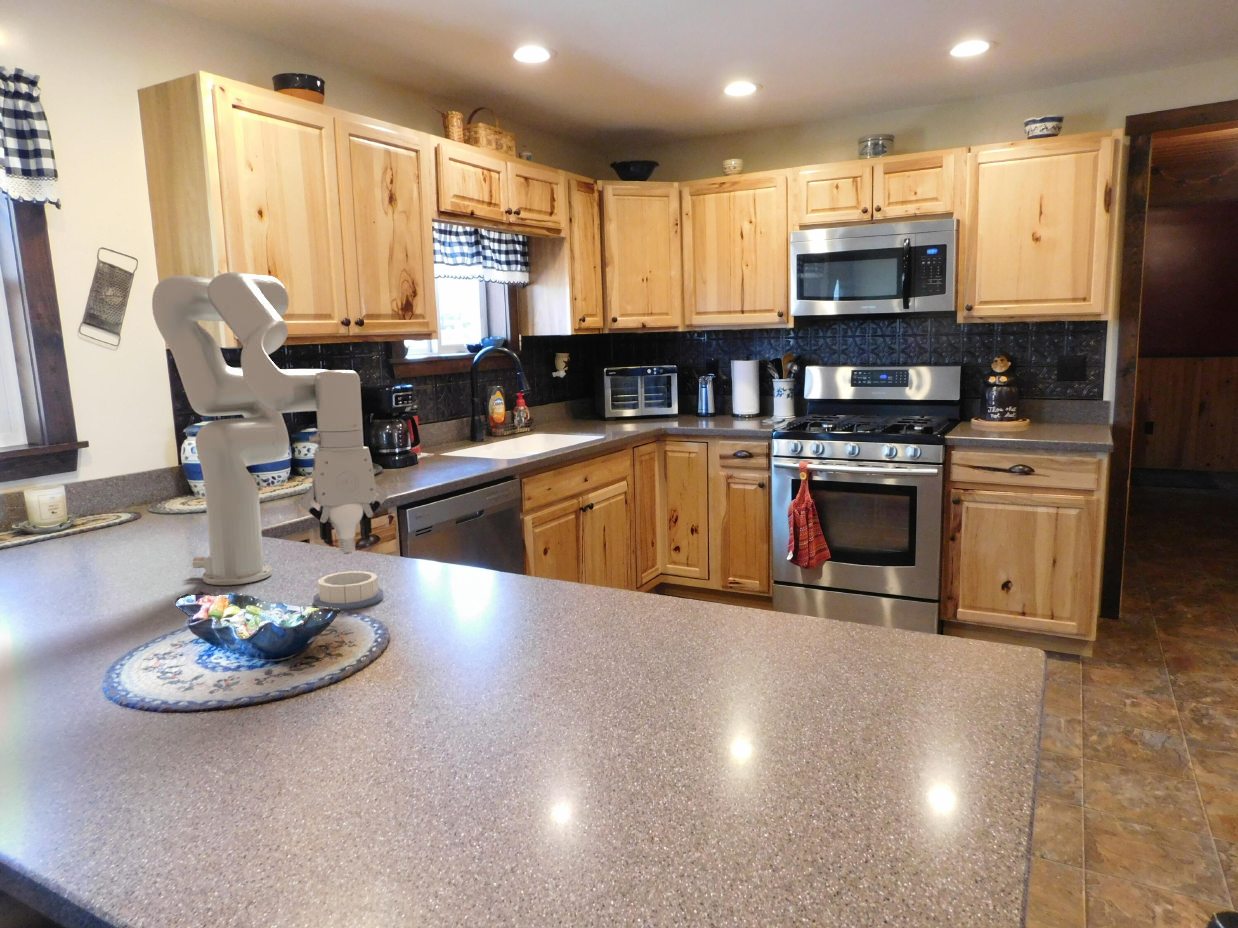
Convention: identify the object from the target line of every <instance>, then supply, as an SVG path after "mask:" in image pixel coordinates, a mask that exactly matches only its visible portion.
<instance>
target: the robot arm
mask: <svg viewBox="0 0 1238 928" xmlns="http://www.w3.org/2000/svg"><path fill="white" fill-rule="evenodd" d="M152 292H153V293H152V298H151V299H152V300H151V310H152V315H153V318H154V322H155V325H156V327H157V328H158V331H159V333H160V335H161V337H162V338H163V340H164V342H165V344H167V347H168V348H169V350H170V352H171V354H172V357H173V359H174V362H175V366H176V368H177V370H178V371H177V372H178V374H179V377H180V379H181V383H182V385H183V388H184V391H185V394H186V397H187V400H188V402H189V404H190V406H191V409H192V410H193V411H194V412H195V413H196V414H198V415H200V416H203V417H221V416H222V417H223V416H235V415H236V416H237V415H242V417H235V418H226V419H225V418H224V419H217V420H213V421H210V422H208V423H206V424H204V425H202V427H200V428H199V430H198V431H197V434H195V442H194V443H195V450H196V454H197V457H198V461H199V465H200V468H201V472H202V477H203V484H204V485H203V486H204V492H205V493H204V495H205V496H204V497H205V506H206V520H207V533H208V534H207V535H208V546H209V555H208V556H194V558H193V559H192V560H193V562H192V568H194V569H201V568H202V569H204V570H205V572H204V573H203V574H202V581H203V582H204V583H205V584H208V585H212V586H232V585H233V586H234V585H244V584H248V583H254V582H259V581H262V580H264V579H266V578H267V579H268V578H269V577H270V576H272V574H273V567H271V566H270V565H267V564H265V563H264V555H263V554H264V553H263V551H264V550H263V537H262V524H261V523H262V522H261V520H262V519H261V509H260V508H261V507H260V495H259V492H260V491H259V488H258V485H257V482H256V480H255V478H254V477H253V476H252V474H251V473H250V472H249V470H248V469H247V467H250V466H255V465H262V464H269V463H274V462H277V461H280V460H281V459H283V458H285V456H286V454H287V453H288V451H289V447H290V437H289V433H288V428H287V426H286V423H285V420H284V417H283V414H286V413H297V412H298V413H300V412H316V423H317V431H316V434H314V435H309V437H308V439H309V443H310V444H314V445H317V447H318V448H316V449H314V453H313V455H314V456H313V460H312V461H313V462H312V479H311V480H312V483H311V487H310V488H309V489H308V490H307V491H306V493H305V494H304V495H303V496H302V497H301V499H300V500H298V506H300V507H301V508H303V509H304V510H305V511H307V512H308V513H309V514H310V515H311V516H313V517H314V518H315V519H316V520H317V521H319V536H320V540H321V541H322V540H323V543H324V544H326V545H331V544H333V541H332V539H333V538H332V524H331V523H330V522H329V520H328V516H329V513H330V509H331V507H336V506H341V505H345V504H362V506H363V510H364V511H363V516H362V519H361V521H360V522H359V527H360V528H359V529H360V530H359V531H360V537H361V538H362V539H364V540H366V541H368V540H370V535H371V534H372V517H373V516H374V514H375V513H376V511H377V510H378V509H379V508H380V506H381V505H382V504H383V503H384V502H385V501H386V500H387V498H388V497H389V495H388V493H387V492H386V491H385V490H384V489H383V488H382V487H381V486H379V485H378V483H376V481H375V472H374V466H373V461H372V456H371V452H370V448H369V446H364V429H363V427H364V426H363V410H362V393H361V389H362V387H361V378H360V376H359V374H358V373H357V372H356V371H355V370H350V369H347V370H346V369H331V370H329V369H325V368H324V369H322V368H289V369H288V368H285V369H284V368H282V369H280V368H279V367H278V366H277V365H276V364H275V363H274V361H272V359H271V358H270V357H269V355H271V354H272V353H274V352H276V351H277V350H278V349H279V348H280V347H282V345H283V344H284V343H285V342H286V341H287V340H286V339H287V337H288V336H289V335H288V333H289V328H288V324H287V322H286V321H285V320H284V319H283V318H282V317H283V316H284V315H285V314H286V312H287V310H288V308H289V303H290V302H289V301H290V299H289V294H288V292H287V288H286V287H285V286H284V284H283V283H281V281H280V280H278V279H277V278H275V277H274V276H271V275H266V274H254V273H245V272H235V271H234V272H223V273H221V274H218V275H216V276H215V277H208V276H207V277H206V276H196V275H173V276H169V277H166V278H164V279H162V280H160V281H159V282H158V283H157V284H156V285H155V287H154V290H153V291H152ZM199 321H204V322H224V323H225V324H226V325H227V327H228V328H229V329H230V330H231V332H232V333H233V334H234V336H235V337H236V338H237V340H238V341H239V342H240V343H241V345H242V350H241V354H240V367H231V366H229V365H228V364H227V362H226V360H225V358H224V356H223V352H222V350H221V347H220V345H219V344H218V342H217V340H216V339H215V338H214V337H213V336H212V335H211V334H210V333H209V331H207V330H206V328H204V327H202V326H201V325H200V324H199ZM312 501H313V502H314V503H316V504H318V505H319V508H318V509H317V508H316V507H315V506H314V505H312V504H311V502H312Z"/></svg>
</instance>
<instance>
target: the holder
mask: <svg viewBox="0 0 1238 928" xmlns="http://www.w3.org/2000/svg"><path fill="white" fill-rule="evenodd" d="M378 581H379V579H378V575H377V574H376V573H375V572H371V571H359V570H358V571H356V570H352V571H351V570H350V571H341V572H335V573H331V574H328V575H324V576H323V577H320V578H319V579H318V580H317V591H318V593H316V594H315V595H314V596H313V602H312V603H313V606H325V607H332V608H339V609H340V610H339V611H350V610H359V609H364V608H368V607H370V606H374V605H376V604H378V603H380V602H382V600H383V599H384V590H383V589H381V588H380V587H379V582H378Z"/></svg>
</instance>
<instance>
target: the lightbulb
mask: <svg viewBox="0 0 1238 928" xmlns="http://www.w3.org/2000/svg"><path fill="white" fill-rule="evenodd" d="M363 511H364V510H363V506H362V504H345V505H341V506H336V507H331V509H330V513H329V516H328V520H329V522H330V523H331V527H333V528H334V530H335V534H336V537H337V538H338V546H339V547H338V548H339V552H340V553H342V554H344V555H350V554H351V553H353V552H354V551H356V543H355V536H356V533H357V528H358V526H359V525H360V521H361V519H362V516H363Z"/></svg>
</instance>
